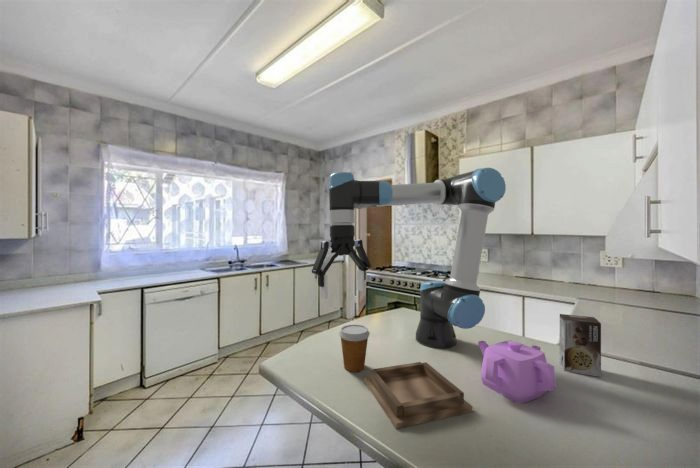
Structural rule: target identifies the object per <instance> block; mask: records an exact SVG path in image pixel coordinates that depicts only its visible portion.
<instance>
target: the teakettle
mask: <svg viewBox="0 0 700 468" xmlns="http://www.w3.org/2000/svg"><path fill="white" fill-rule="evenodd" d="M477 344H478V346H479V349H480V350H481V353H482V356H483V359H482V363H481V372H480V373H481V374H480V378H481V381H482V384H483V385H484V386H486V387H487V388H489V389H490V390H493V391H494V392H495V393H498V394H499V395H501V396H502V397H504V398H507V399H509V400H510V401H513V402H514V403H517V404H523V403H527V402H531V401H533V400H536V399H539V398H540V397H542V396H543V395H544V394H546V393H547V392H548V391H549V392H550V391H551V392H552V391H554V390H556V389H557V382H556V373H555V365H551V364H550V363H548V361H547V357H546V354H545V352H544V351H542V350H541V346H538V345H532V346H529V345H526V344H523V343H520V342H519V341H515V340H514V341H513V340H505V341H500V342H497V343H493V344H491V345H489V344H488V343H487V341H486V340H479V341H477Z"/></svg>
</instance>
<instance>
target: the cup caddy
mask: <svg viewBox="0 0 700 468" xmlns="http://www.w3.org/2000/svg"><path fill="white" fill-rule="evenodd" d="M363 378H364V379H363V382H364V384H365V385H366V386H367V388H368V390H369V391H370V392H371V394H372V395H373V397H374V399H375V400H376V402H377V403H378V404H379V406H380V407H381V408H382V409H381V410H383V411H384V413H385V415H386V416H387V418H388V419H389V421H390V422H391V424H392V425H393V426H394V429H396V430H397V429H401V428H406V427H411V426H414V425H415V426H416V425H420V424H424V423H428V422H432V421H437V420H442V419H446V418H450V417H455V416H458V415H462V414H467V413H472V412H473V406H472V405H471V404H470V403H469V402H467V401H466V400H465V392H464V391H462V390H461V389H460V388H458V387H457V386H456V385H455V384H454V383H453V382H451V381H450V380H449V379H447V377H445V376H444V375H443V374H441V373H440V372H439V371H438V370H436V369H435V368H434V367H432V366H431V365H430V364H429V362H421V361H417V362H411V363H404V364H399V365H398V364H397V365H390V366H385V367H378V368H374V369H373V370H370V371H369V376H364V377H363Z"/></svg>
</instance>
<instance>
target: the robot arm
mask: <svg viewBox="0 0 700 468" xmlns="http://www.w3.org/2000/svg"><path fill="white" fill-rule="evenodd" d="M328 182H329V183H328V196H329V223H330V224H331V225H330V226H329V237H330V241H327V240H322V241H321V243H320V249H319V252H318V254H317V256H316V258H315V261H314V265H313V266H312V269H311V274H314V275H317V282H318V283H317V284H318V285H317V286H318V287H320V298H322V299H328V297H329V296H328V294H329V293H328V275H326V273H327V272H328V271H329V269H330V267H331V266H332V264H333V263H334V261H335V260H336V258H338V256H339V257H341V256H349V257H350V258H351V260H352V261H353V263H354V264H355V266H357V268H358V269H357V270H356V282H357V284H356V286H357V287H356V289H357V291H359V292H363V293H364V292H365V281H366V279H367V277H366V276H367V271H369V269H370V268H371V267H372V265H371V262H370V261H369V260H370V259H369V258H368V256H367V253H366V251H365V248H364V244H363V240H362V239H354V238H355V231H356V230H355V227H356V226H355V225H354V223H355V220H356V218H355V209H356V210H359V209H360V210H361V209H364V208H366V209H367V208H376V207H388V206H402V205H415V204H416V205H418V204H430V203H433V204H435V205H437V206H439V205H452V206H457V207H458V208H459V210H460V219H459V223H458V224H459V225H458V230H457V235H456V242H455V246H454V247H455V248H454V253H453V259H452V264H451V269H450V275H449V276H450V277H449V278H448V279H447V280H431V281H429V280H428V281H423V282H422V283H421V284H420V290H419V292H420V293H419V295H420V296H419V297H420V299H419V300H420V301H419V302H420V305H419V306H420V308H419V309H420V311H419V312H420V314H419V315H420V319H419V322H418V325H417V328H416V331H415V340H416V341H417V343H419V344H421V345H424V346H426V347H430V348H437V349H447V348H451V347H454V346H455V345H456V344H457V335H456V332H455V329H454V327H458V328H461V329H463V330H464V329H465V330H467V329H468V330H469V329H472V328H474V327H476V325H479V324H480V323H481V321H482V320H483V319H484V316H485V313H486V307H485V306H486V305H485V303H484V301H483V299H482V298H481V297H480V294H481V289H480V288H479V286H478V284H477V282H478V277H479V270H480V265H481V259H482V254H483V253H482V252H483V249H484V248H483V247H484V242H485V237H486V236H485V235H486V231H487V230H486V229H487V224H488V218H489V215H490V214H491V213H492V212H494V211H495V207H496V203H497V202H498V201H500V200H501V199H502V198H503V197H504V196H505V194H506V189H507V188H506V186H507V185H506V181H505V178H504V177H503V175H502V174H501V172H500V171H498V170H497V169H495V168H492V167H484V168H477V169H474V170H472V171H468V172H465V173H464V172H463V173H461V174H458V175H454V176H451V177H448V178H443V179H442V178H441V179H436V180H434V182H423V183H421V182H420V183H419V182H418V183H403V184H391V182H390V181H385V180H384V181H383V180H357V179H355V176H354V174H353V173H352V172H347V171H339V172H333V173H332V174H331V175H329V181H328ZM354 247H355V249H354ZM330 248H331V249H330ZM329 249H330V250H329ZM328 252H329V253H328ZM327 254H328V255H327Z"/></svg>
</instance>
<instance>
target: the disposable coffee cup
mask: <svg viewBox="0 0 700 468" xmlns="http://www.w3.org/2000/svg"><path fill="white" fill-rule="evenodd" d="M338 333H339V334H338V335H339V337H340V343H341V349H342V358H343V360H342V361H343V366H344V367H343V368H344V369H345V370H346V371H348V372H351V373H352V372H354V373H356V372H360V371H363V370H364V369H365V364H366V357H367V347H368V340H369V336H370V334H371V333H370V331H369V328H368V327H367V326H365V325H362V324H347V325H346V324H345V325H343V326H342V327H340V331H339V332H338Z"/></svg>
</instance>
